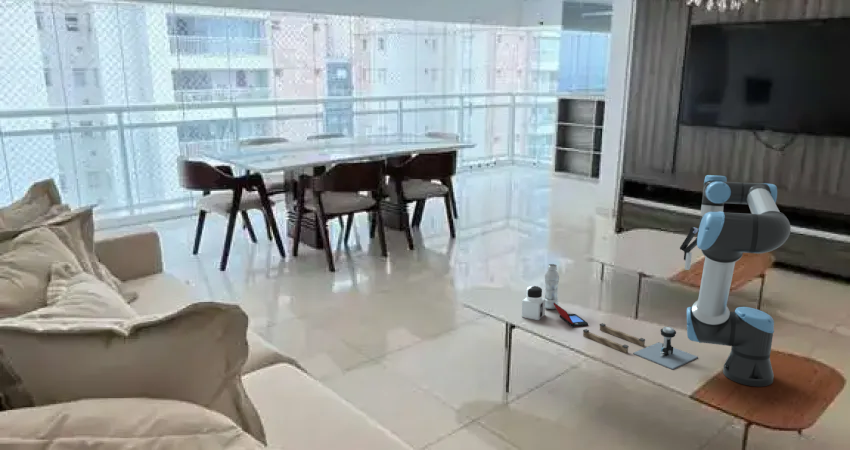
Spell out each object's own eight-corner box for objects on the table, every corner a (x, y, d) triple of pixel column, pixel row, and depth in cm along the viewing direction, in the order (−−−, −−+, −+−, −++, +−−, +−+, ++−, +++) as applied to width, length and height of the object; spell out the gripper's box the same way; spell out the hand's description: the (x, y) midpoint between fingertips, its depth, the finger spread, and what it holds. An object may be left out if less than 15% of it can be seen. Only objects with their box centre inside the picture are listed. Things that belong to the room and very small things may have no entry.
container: (545, 314, 264) (546, 286, 261) (538, 320, 257) (539, 291, 255) (528, 311, 268) (529, 283, 265) (521, 317, 261) (522, 288, 259)
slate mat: (697, 357, 221) (697, 356, 221) (672, 369, 212) (672, 368, 212) (658, 343, 234) (658, 342, 234) (633, 353, 225) (633, 352, 225)
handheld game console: (589, 326, 252) (590, 309, 250) (565, 329, 249) (566, 311, 247) (574, 315, 263) (575, 299, 262) (551, 318, 261) (552, 301, 259)
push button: (667, 359, 219) (669, 333, 217) (653, 354, 223) (655, 328, 221) (676, 354, 223) (679, 328, 221) (663, 349, 227) (665, 324, 225)
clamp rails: (644, 345, 232) (645, 339, 232) (625, 353, 226) (625, 346, 225) (602, 329, 248) (602, 323, 247) (582, 336, 241) (583, 329, 241)
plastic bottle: (542, 310, 269) (544, 267, 265) (543, 305, 276) (545, 262, 271) (557, 311, 268) (559, 268, 263) (558, 306, 274) (560, 263, 270)
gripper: (750, 220, 219) (742, 278, 222) (684, 212, 238) (678, 265, 241) (740, 221, 214) (733, 280, 217) (674, 213, 234) (668, 267, 236)
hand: (704, 272), depth 229 cm, fingers open, 13 cm apart
